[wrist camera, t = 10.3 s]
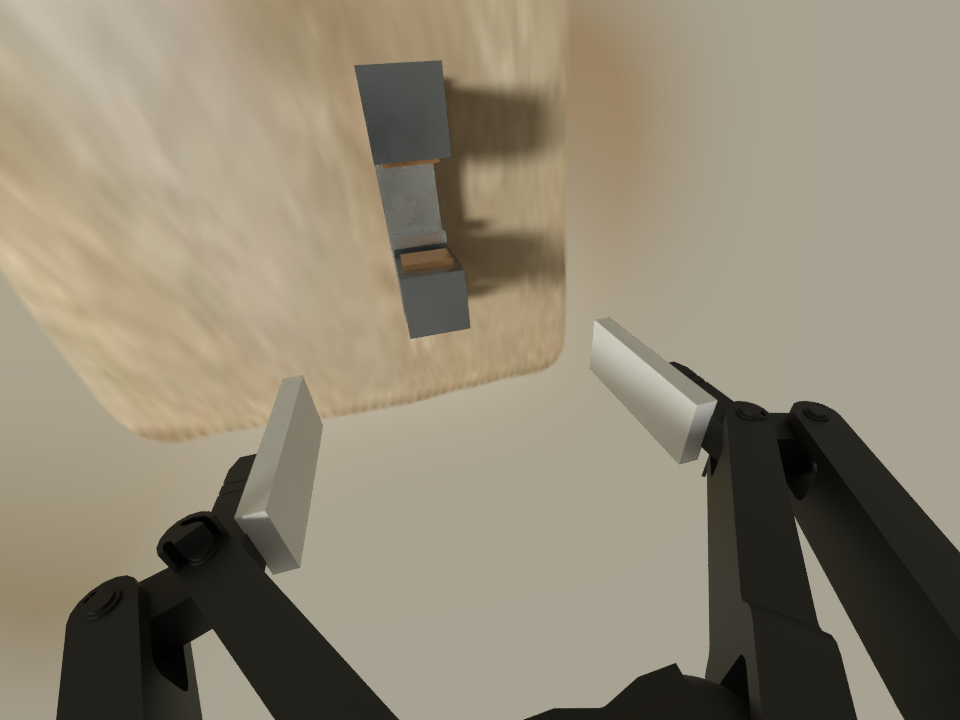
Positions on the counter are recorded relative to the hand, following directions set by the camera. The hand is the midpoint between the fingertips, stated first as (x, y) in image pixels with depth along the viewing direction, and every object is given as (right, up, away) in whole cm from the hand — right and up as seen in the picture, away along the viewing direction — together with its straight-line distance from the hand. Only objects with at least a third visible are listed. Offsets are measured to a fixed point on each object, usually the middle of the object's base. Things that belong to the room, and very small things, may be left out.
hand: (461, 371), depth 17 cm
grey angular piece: (-5, +13, +13) cm, 19 cm away
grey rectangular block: (-4, +8, +13) cm, 16 cm away
